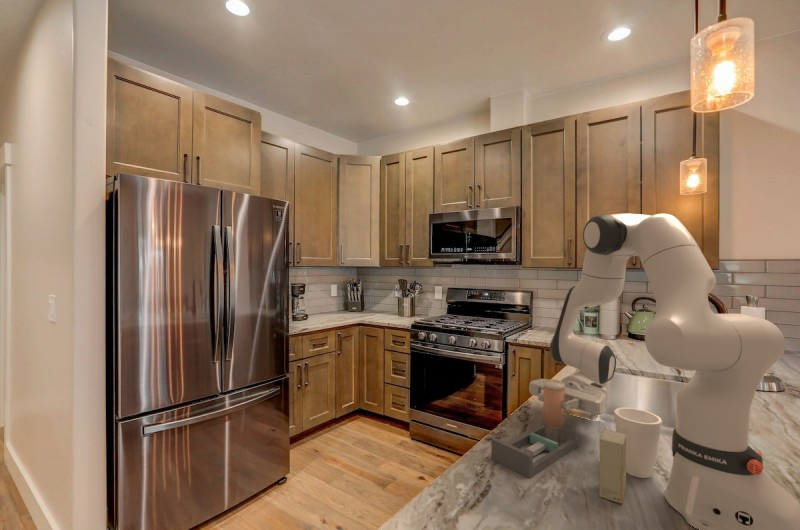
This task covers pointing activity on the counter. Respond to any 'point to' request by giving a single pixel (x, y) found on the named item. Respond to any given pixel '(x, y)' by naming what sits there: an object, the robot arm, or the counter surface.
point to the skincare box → (612, 466)
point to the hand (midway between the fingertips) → (552, 401)
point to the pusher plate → (540, 444)
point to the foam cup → (639, 439)
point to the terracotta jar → (553, 403)
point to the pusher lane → (527, 454)
